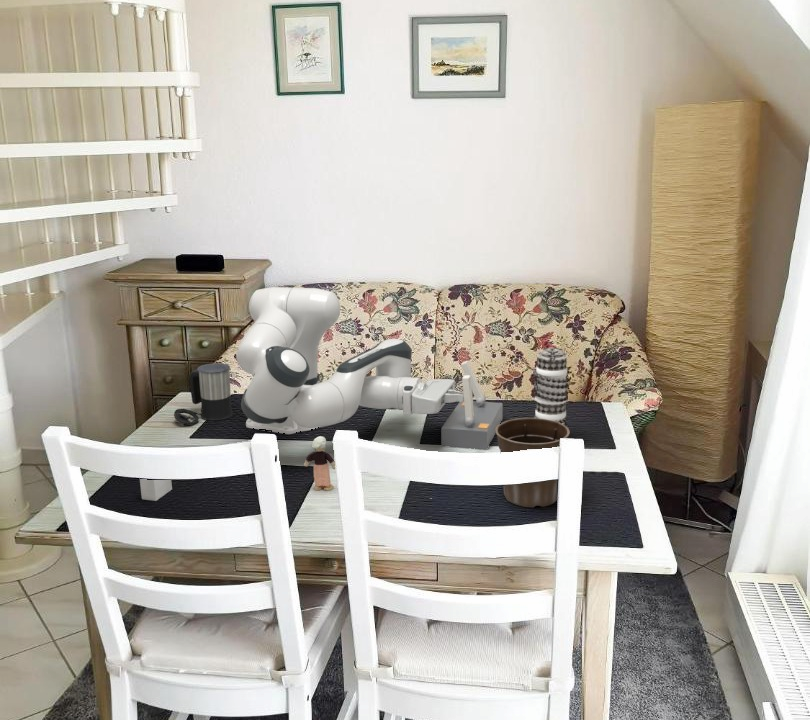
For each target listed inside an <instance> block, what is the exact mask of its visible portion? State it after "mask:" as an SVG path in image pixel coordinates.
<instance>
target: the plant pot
mask: <svg viewBox="0 0 810 720" xmlns="http://www.w3.org/2000/svg"><path fill="white" fill-rule="evenodd" d="M570 432H571V431H570V429H569V427H568V426H565V425H563V424H561V423H559V422H556V421H552V420H548V419H541V418H534V417H520V418H513V419H508V420H505V421H502V422H501V424H499V425H498V426H497V427H496V429H495V435H496V436H497V443H498V448H499V451H500V453H501V452H513V451H520V450H527V449H542V448H552V447H557V446H559V439H560V438H567V439H568V438H569V436H570ZM503 496H504V497H505V499H506V501H508V502H509V503H510V504H514V505H515V506H519V507H524V508H532V509H533V508H536V506H539V507H541V508H544V507H548V506H551V505H553V504H555V503H556V502H557V501H558V499H557V480H551V481H545V482H537V483H527V484H518V485H506V486H503Z"/></svg>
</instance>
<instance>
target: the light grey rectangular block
mask: <svg viewBox="0 0 810 720" xmlns="http://www.w3.org/2000/svg"><path fill="white" fill-rule="evenodd" d="M139 483H140V484H139V485H140V494H141V499H142V500H146V501H153V502H154V501H155V502H157V501H158V500H159V499H161V498H163V496H165V495H166V494H167V493H169V492H171V490H173V486H172V479H171V480H147V479H140V478H139Z"/></svg>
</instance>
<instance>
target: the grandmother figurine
mask: <svg viewBox="0 0 810 720" xmlns="http://www.w3.org/2000/svg"><path fill="white" fill-rule="evenodd" d="M311 443H312V445H311V447H312V448H313V449H314V450H315V451H312V452H310V453H309V454H308V455H307V456H306V457H305V460H304V463H303V466H304V467H308V466H309V464H310V462H311V463H312V462H313V481H314V490H315V491H321V490H322V489H323V491H330V490H333V489H335V487H334V485H333V484H332V482H331V474H330V466H331V467H332V469H331V470H336V469H335V465H336V463H335V459H334V458H333V457H332V455H331V454H330V453H329V452H327V451H325V450H326V446H327V440H326V438H325V436H321V435H320V436H317V437H316V438H314V439H313V441H312V442H311ZM329 464H330V466H329Z"/></svg>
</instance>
